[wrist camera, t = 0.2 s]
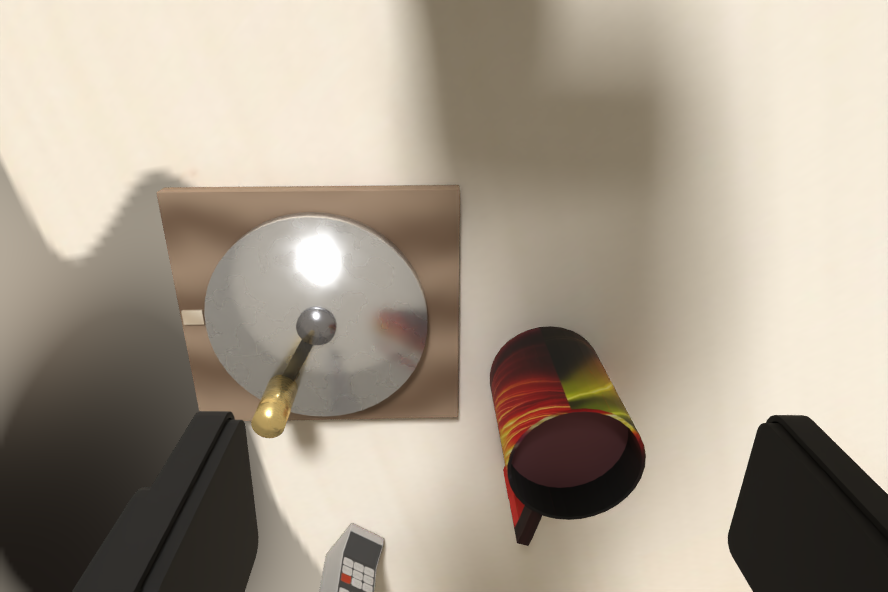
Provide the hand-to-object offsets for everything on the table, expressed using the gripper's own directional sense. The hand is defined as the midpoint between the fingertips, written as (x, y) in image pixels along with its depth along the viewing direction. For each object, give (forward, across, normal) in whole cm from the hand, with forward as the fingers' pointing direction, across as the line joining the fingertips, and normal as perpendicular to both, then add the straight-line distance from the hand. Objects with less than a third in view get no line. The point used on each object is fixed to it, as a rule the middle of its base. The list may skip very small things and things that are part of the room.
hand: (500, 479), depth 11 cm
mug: (+37, -10, +22) cm, 44 cm away
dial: (+35, +9, +13) cm, 39 cm away
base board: (+37, +9, +13) cm, 40 cm away
